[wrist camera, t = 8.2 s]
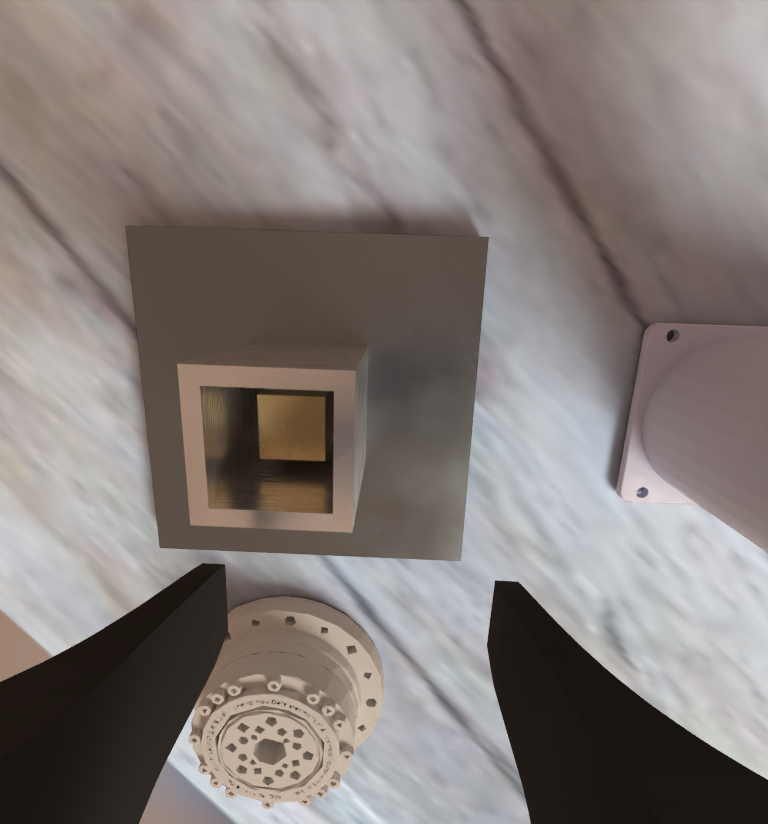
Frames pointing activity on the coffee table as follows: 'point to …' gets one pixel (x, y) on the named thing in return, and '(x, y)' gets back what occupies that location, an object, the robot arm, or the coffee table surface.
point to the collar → (239, 437)
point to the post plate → (323, 311)
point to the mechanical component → (286, 701)
